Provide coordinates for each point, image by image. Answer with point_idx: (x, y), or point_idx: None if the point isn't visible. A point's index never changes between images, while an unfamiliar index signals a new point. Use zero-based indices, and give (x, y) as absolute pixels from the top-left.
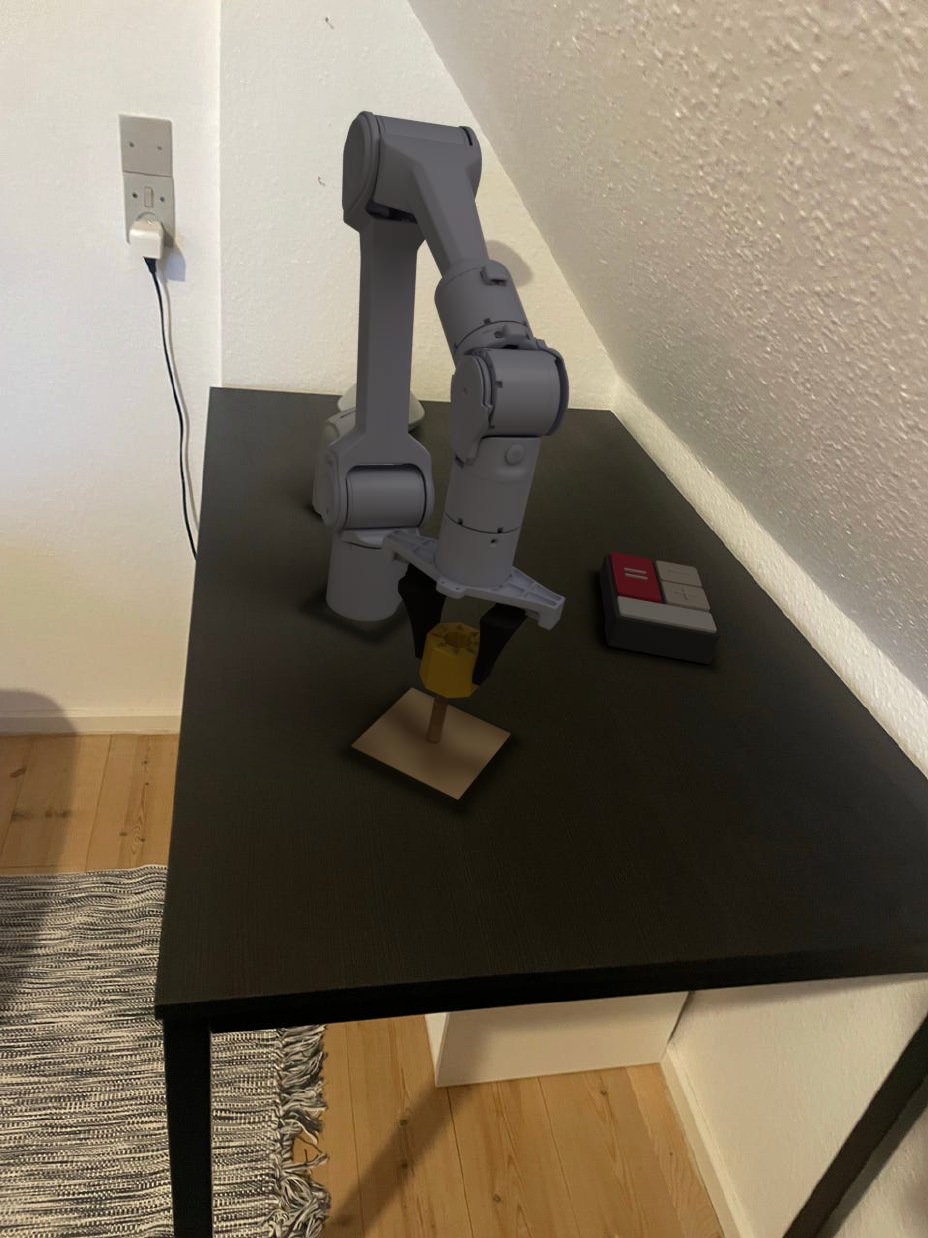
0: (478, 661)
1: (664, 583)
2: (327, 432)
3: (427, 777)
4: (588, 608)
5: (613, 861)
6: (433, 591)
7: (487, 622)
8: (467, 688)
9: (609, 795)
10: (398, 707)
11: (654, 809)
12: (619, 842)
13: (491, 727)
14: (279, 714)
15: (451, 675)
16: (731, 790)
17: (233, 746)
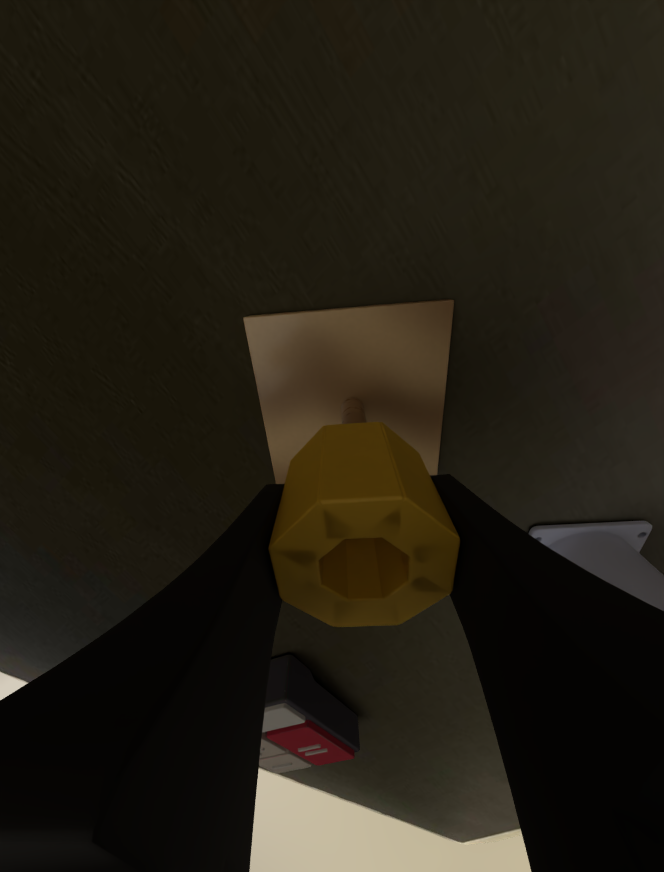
0: (251, 531)
1: (281, 751)
2: None
3: (309, 327)
4: (340, 681)
5: (35, 379)
6: (581, 774)
7: (26, 822)
8: (291, 468)
9: (129, 476)
10: (432, 430)
11: (81, 489)
12: (59, 414)
13: None
14: (600, 295)
15: (320, 460)
16: (58, 562)
17: (657, 143)
